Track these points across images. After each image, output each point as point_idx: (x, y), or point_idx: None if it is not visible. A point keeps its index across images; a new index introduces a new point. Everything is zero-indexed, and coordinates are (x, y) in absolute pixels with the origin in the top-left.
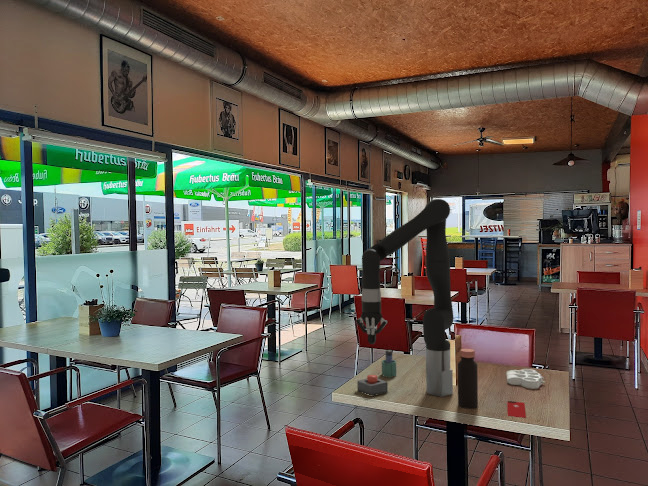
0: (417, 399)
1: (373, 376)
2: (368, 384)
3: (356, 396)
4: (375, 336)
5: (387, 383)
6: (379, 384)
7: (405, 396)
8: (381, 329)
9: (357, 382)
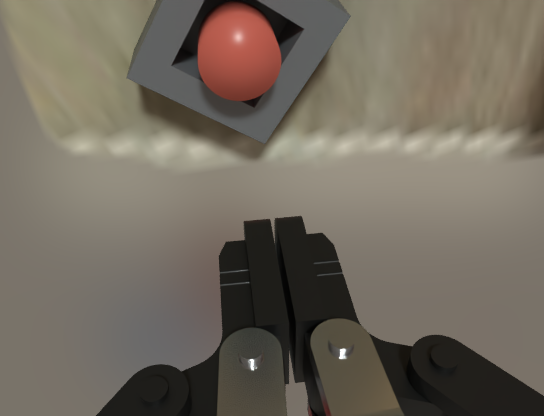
0: (525, 45)
1: (250, 62)
2: (239, 122)
3: (182, 143)
4: (346, 311)
5: (347, 12)
6: (305, 82)
7: (455, 23)
8: (510, 402)
9: (128, 72)
